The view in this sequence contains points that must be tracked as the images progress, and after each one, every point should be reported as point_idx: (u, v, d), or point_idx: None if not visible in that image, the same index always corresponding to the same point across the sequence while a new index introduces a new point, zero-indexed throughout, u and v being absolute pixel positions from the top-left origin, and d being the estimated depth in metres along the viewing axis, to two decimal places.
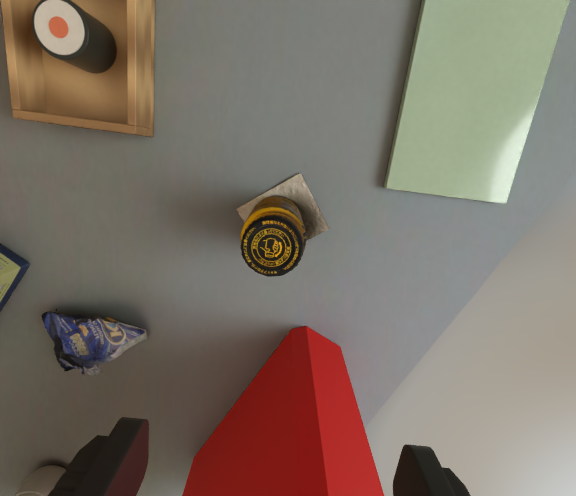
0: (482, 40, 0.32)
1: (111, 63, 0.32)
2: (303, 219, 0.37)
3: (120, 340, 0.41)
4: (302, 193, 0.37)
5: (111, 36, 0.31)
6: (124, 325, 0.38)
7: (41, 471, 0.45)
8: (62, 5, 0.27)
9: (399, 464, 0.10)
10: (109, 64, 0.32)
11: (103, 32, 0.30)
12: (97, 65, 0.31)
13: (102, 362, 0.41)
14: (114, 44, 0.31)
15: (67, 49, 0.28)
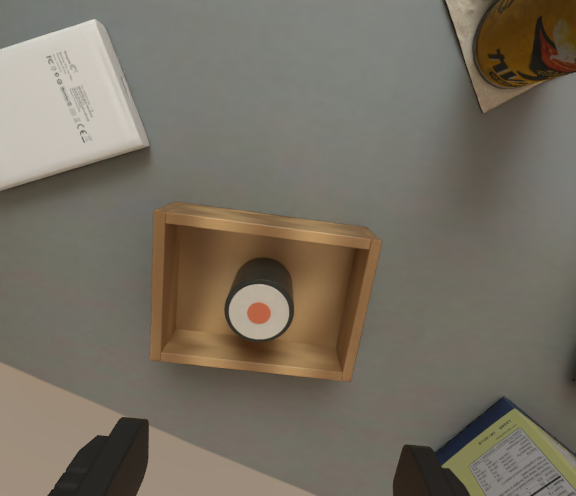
0: None
1: (282, 265, 0.26)
2: None
3: None
4: None
5: (253, 260, 0.25)
6: None
7: None
8: (235, 304, 0.21)
9: (399, 464, 0.10)
10: (283, 267, 0.25)
11: (253, 266, 0.24)
12: (289, 280, 0.24)
13: None
14: (261, 258, 0.25)
15: (283, 307, 0.22)
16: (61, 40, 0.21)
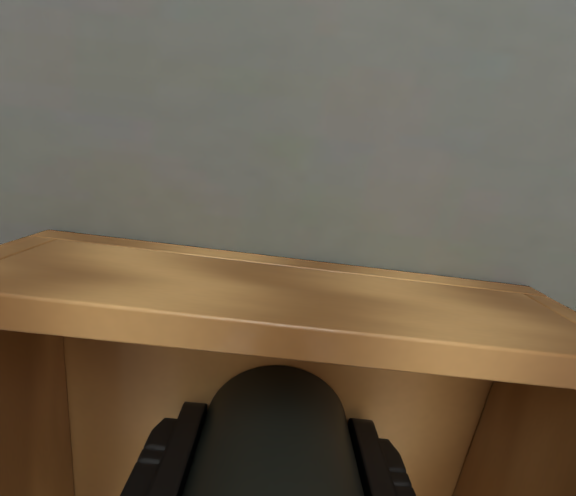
0: None
1: (324, 386, 0.10)
2: None
3: None
4: None
5: (251, 379, 0.10)
6: None
7: None
8: None
9: None
10: (328, 392, 0.10)
11: (250, 418, 0.08)
12: (349, 443, 0.09)
13: None
14: (272, 372, 0.10)
15: None
16: None
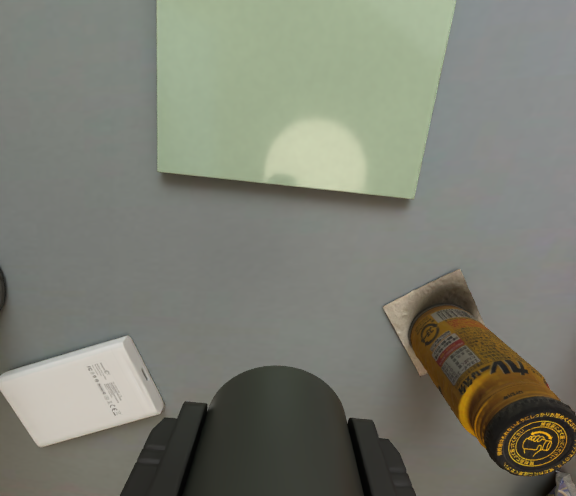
0: (219, 84, 0.23)
1: (324, 386, 0.10)
2: (442, 300, 0.28)
3: (564, 495, 0.35)
4: (408, 303, 0.28)
5: (251, 379, 0.10)
6: None
7: None
8: None
9: None
10: (328, 393, 0.10)
11: (250, 418, 0.08)
12: (348, 444, 0.09)
13: None
14: (271, 373, 0.10)
15: None
16: (98, 357, 0.28)
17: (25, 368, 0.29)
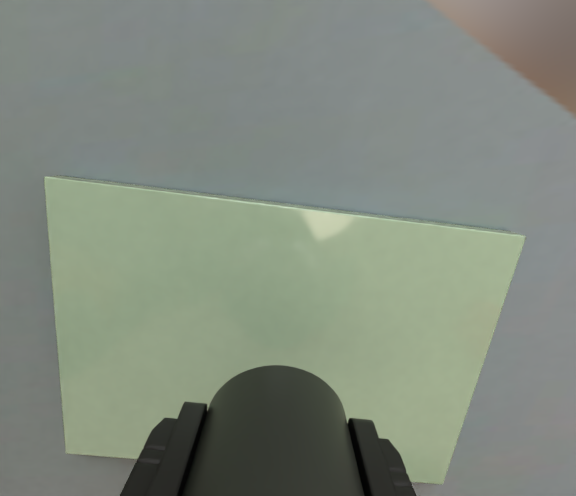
0: (154, 352, 0.15)
1: (324, 386, 0.10)
2: None
3: None
4: None
5: (251, 379, 0.10)
6: None
7: None
8: None
9: None
10: (328, 392, 0.10)
11: (250, 417, 0.08)
12: (349, 443, 0.09)
13: None
14: (272, 372, 0.10)
15: None
16: None
17: None
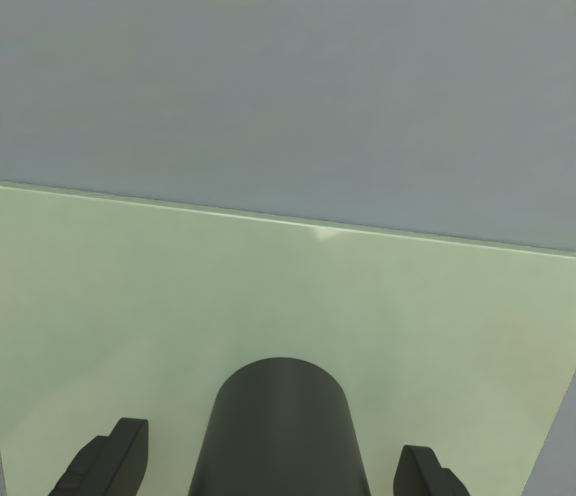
0: (119, 410, 0.11)
1: (327, 377, 0.11)
2: None
3: None
4: None
5: (257, 370, 0.10)
6: None
7: None
8: None
9: (399, 464, 0.10)
10: (331, 383, 0.10)
11: (257, 406, 0.09)
12: (352, 431, 0.09)
13: None
14: (277, 363, 0.10)
15: None
16: None
17: None
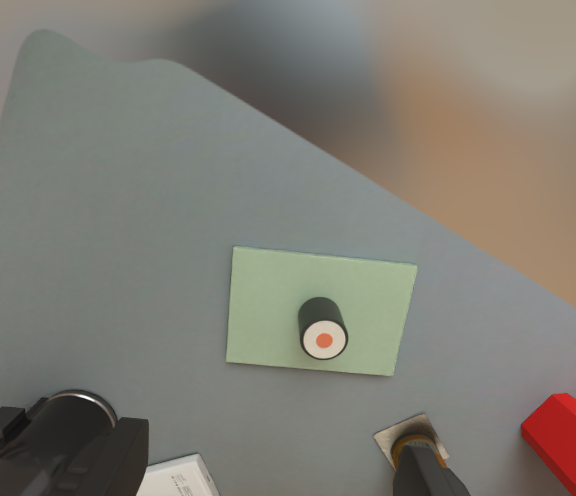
0: (268, 315, 0.36)
1: (333, 302, 0.35)
2: (413, 431, 0.42)
3: None
4: (390, 433, 0.42)
5: (313, 299, 0.35)
6: None
7: None
8: (308, 334, 0.31)
9: (399, 464, 0.10)
10: (335, 303, 0.35)
11: (315, 306, 0.33)
12: (340, 314, 0.34)
13: None
14: (318, 298, 0.35)
15: (341, 336, 0.31)
16: (179, 470, 0.41)
17: None
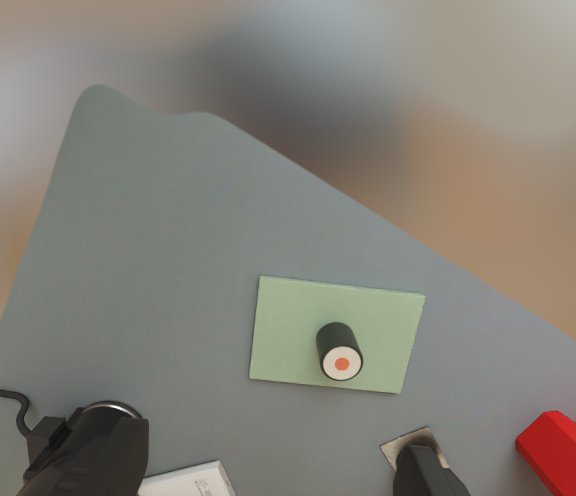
0: (289, 337, 0.40)
1: (349, 327, 0.39)
2: (417, 443, 0.45)
3: None
4: (396, 444, 0.45)
5: (330, 325, 0.38)
6: None
7: None
8: (327, 359, 0.35)
9: (399, 464, 0.10)
10: (350, 328, 0.39)
11: (333, 331, 0.37)
12: (355, 339, 0.37)
13: None
14: (335, 323, 0.39)
15: (357, 360, 0.35)
16: (202, 476, 0.45)
17: (154, 480, 0.46)
